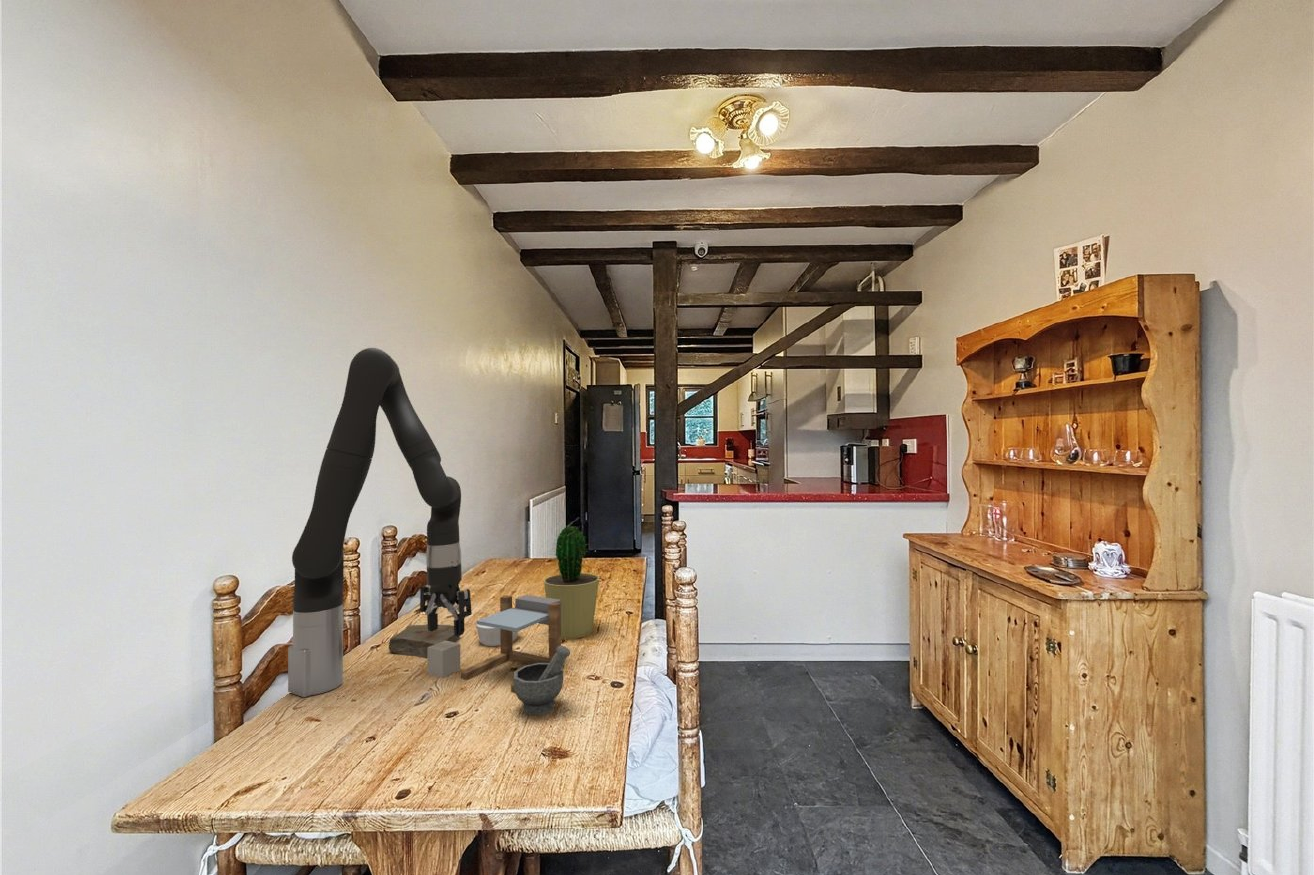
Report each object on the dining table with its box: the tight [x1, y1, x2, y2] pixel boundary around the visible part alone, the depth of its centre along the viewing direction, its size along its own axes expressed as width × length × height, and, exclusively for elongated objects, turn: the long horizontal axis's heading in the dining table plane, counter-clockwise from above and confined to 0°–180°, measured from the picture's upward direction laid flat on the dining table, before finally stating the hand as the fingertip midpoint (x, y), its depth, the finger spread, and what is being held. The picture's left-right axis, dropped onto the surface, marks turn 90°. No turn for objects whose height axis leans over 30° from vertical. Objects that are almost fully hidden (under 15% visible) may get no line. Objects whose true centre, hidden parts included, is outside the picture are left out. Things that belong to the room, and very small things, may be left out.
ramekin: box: [475, 622, 519, 647], centre depth 144 cm, size 11×11×5 cm
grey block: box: [426, 641, 461, 678], centre depth 124 cm, size 5×5×6 cm
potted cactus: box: [543, 525, 600, 640], centre depth 150 cm, size 15×15×30 cm
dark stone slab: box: [388, 624, 461, 659], centre depth 140 cm, size 17×15×4 cm
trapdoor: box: [476, 594, 562, 633], centre depth 125 cm, size 16×12×5 cm
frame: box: [460, 594, 565, 693], centre depth 122 cm, size 15×17×15 cm
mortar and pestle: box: [513, 645, 571, 716], centre depth 105 cm, size 11×9×12 cm
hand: (446, 632), depth 124 cm, fingers open, 8 cm apart
